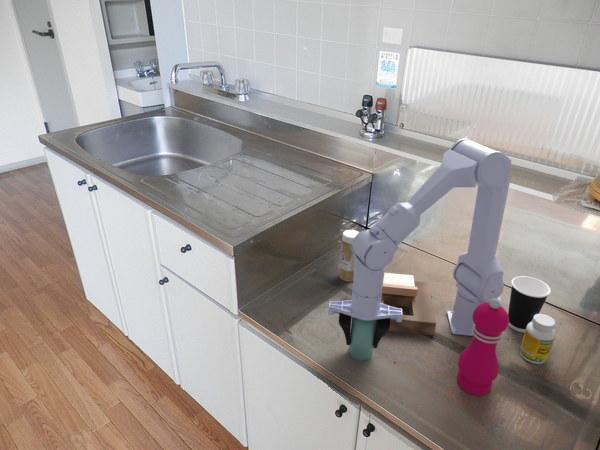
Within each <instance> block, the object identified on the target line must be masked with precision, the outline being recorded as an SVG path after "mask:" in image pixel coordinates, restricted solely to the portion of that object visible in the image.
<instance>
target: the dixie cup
mask: <svg viewBox="0 0 600 450" xmlns="http://www.w3.org/2000/svg"><path fill="white" fill-rule="evenodd" d="M510 281H511V283H510V284H511V289H510V290H511V291H510V298H509V305H508V312H507V314H508V317H509V324H508V326H509V328H511V329H513V330H514V331H517V332H520V333H525V330H526V327H527V325H528V324H529V323H530V322H532V320H533V317H534V315H536V314H540V312H541V311H542V308H543V307H544V304H545V302H546V300H547V298H548V296H550V294H551V292H552V290H551V288H550V286H549V285H548V284H547V283H546V282H544V281H542V280H541V279H538V278H537V277H533V276H532V277H531V276H526V275H519V276H515V277H514V278H513V277H512V279H511V280H510Z"/></svg>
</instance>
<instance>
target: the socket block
mask: <svg viewBox="0 0 600 450" xmlns="http://www.w3.org/2000/svg"><path fill="white" fill-rule="evenodd" d="M414 284H415V287H417V289H418V290H417V296H416V297H414V296H404V295H394V294H384V293H382V296H381V303H382V304H385V305H388V306H391V307H395V308H401V309H402V311H409V314H408V315H407V314H403V316H402V322H396V320H394V319H390V328H389V330H388V331H387V332H398V333H406V334H413V335H414V334H415V335H424V336H431V337H432V336H435V332H436V327H437V319H436V315H435V311H434V310H435V309H434V304H433V300H432V295H431V289H430V285H429V282H426V281H416V280H414ZM375 328H376V326H375Z"/></svg>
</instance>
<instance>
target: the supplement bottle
mask: <svg viewBox="0 0 600 450" xmlns="http://www.w3.org/2000/svg"><path fill="white" fill-rule="evenodd" d="M555 326H556V321H555V319H554V317H551V316H550V315H547V314H546V313H545V314H544V313H539V314H536V315H534V317H533V320H532V322H530V323H529V324H528V325H527V327H526V330H525V332H524V333H523V338H522V341H521V344H520V347H519V354H520V356H521V357H522V359H524V360H525V361H526V362H527V361H528V362H529V363H531V364H535V365H536V364H537V365H541V364H544V363H546V362H547V360H548V357H549V355H550V352H551V349H552V347H553V343H554V341H555V339H556V330H555V329H554V328H555Z"/></svg>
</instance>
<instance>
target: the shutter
mask: <svg viewBox="0 0 600 450" xmlns="http://www.w3.org/2000/svg"><path fill="white" fill-rule="evenodd" d="M414 281H415V278H414V274H413V275H412V274H402V273H392V272H384V280H383V288H382V293H384V294H394V295H404V296H414V297H416V296H417V290H418V289H417V287H415V284H414Z"/></svg>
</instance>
